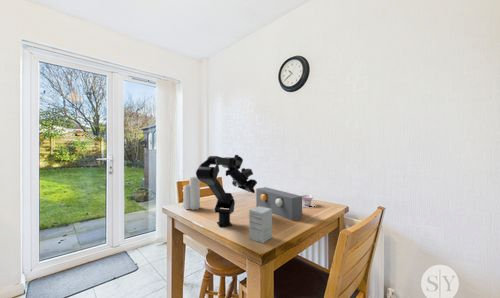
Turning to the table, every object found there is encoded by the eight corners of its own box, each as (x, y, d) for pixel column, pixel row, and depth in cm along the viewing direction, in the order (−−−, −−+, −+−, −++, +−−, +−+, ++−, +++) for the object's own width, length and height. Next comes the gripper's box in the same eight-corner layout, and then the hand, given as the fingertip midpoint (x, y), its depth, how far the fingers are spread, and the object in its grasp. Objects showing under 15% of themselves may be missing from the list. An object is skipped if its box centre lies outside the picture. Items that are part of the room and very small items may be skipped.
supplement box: (259, 233, 98) (259, 205, 98) (272, 237, 93) (272, 208, 93) (248, 238, 92) (248, 209, 92) (262, 243, 87) (262, 212, 87)
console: (291, 220, 114) (291, 198, 114) (256, 206, 140) (256, 188, 140) (302, 217, 119) (302, 196, 119) (265, 204, 145) (265, 187, 145)
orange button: (264, 202, 130) (264, 194, 130) (260, 200, 134) (260, 193, 134) (267, 201, 131) (267, 194, 131) (262, 200, 135) (262, 193, 135)
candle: (201, 207, 140) (201, 176, 140) (197, 210, 133) (196, 178, 133) (185, 206, 142) (185, 176, 142) (180, 209, 135) (179, 177, 135)
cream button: (280, 207, 119) (280, 199, 119) (275, 205, 122) (275, 197, 122) (283, 206, 120) (283, 199, 120) (277, 205, 123) (277, 197, 123)
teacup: (301, 202, 151) (301, 193, 151) (318, 204, 145) (318, 195, 145) (295, 206, 141) (295, 197, 141) (314, 209, 135) (314, 199, 135)
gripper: (254, 165, 117) (269, 183, 123) (236, 163, 132) (251, 179, 138) (242, 181, 112) (258, 199, 119) (225, 177, 127) (240, 193, 134)
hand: (252, 191), depth 127 cm, fingers open, 4 cm apart
